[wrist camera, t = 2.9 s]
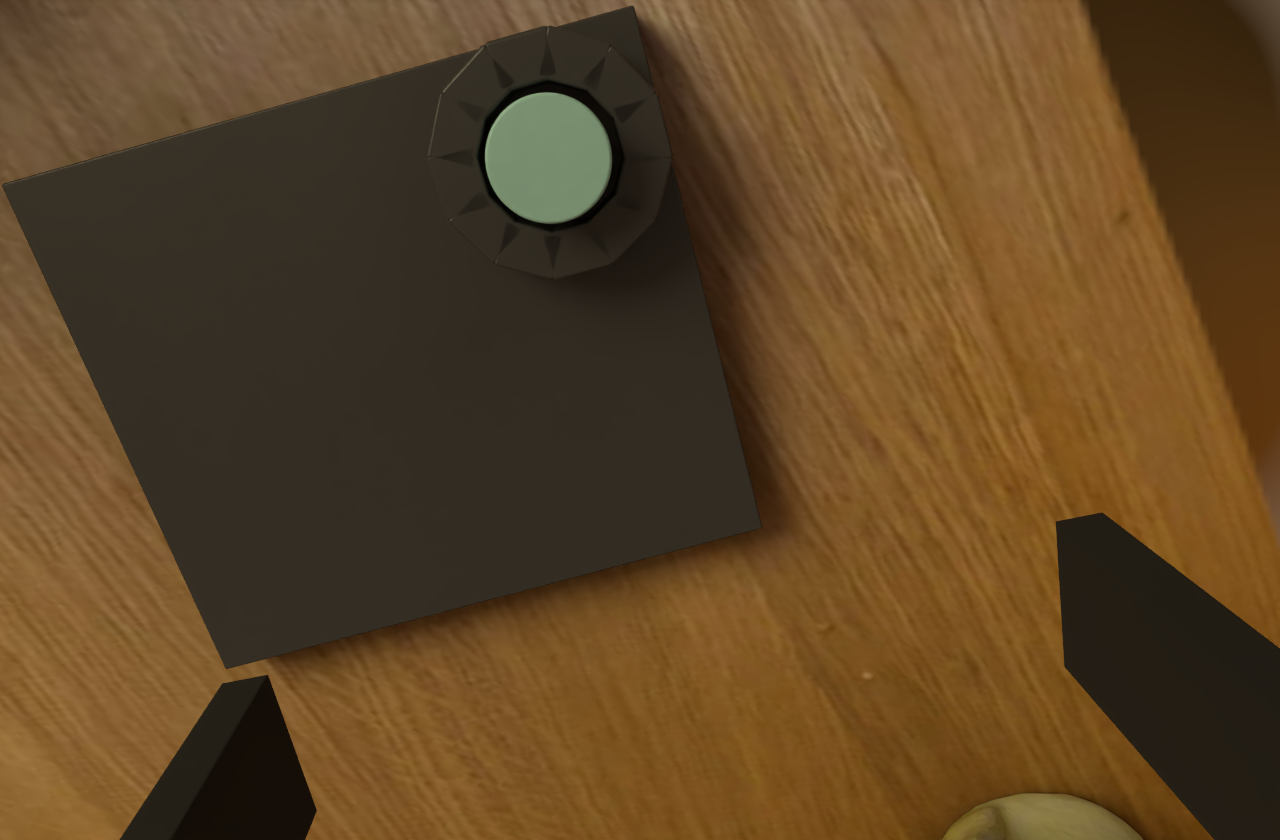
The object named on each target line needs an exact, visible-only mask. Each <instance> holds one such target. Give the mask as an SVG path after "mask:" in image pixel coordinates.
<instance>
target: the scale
mask: <svg viewBox="0 0 1280 840" xmlns="http://www.w3.org/2000/svg"><path fill="white" fill-rule="evenodd" d="M544 92H550V93H558V94H563V95H566V96H569V97H572V98H574V99H576V100H578V101H580V102H581V103H582V104H584V105H585V106H587V107H588V108H589V109H590V110H591V111H592V112H593V113H594V114H595V115H596V116H597V118H598V119H599V120H600V122H601V123H602V125H603V126H604V128H605V131H606V133H607V135H608V138H609V141H610V145H611V150H612V169H611V175H610V178H609V182H608V185H607V187H606V189H605V191H604V193H603V194H602V196H601V197H600V199H599V200H598V201H597V202H596V204H595V205H594V206H593V207H592V208H591V209H589V210H588V211H587V212H585V213H584V214H583V215H581V216H579V217H577V218H575V219H573V220H570V221H567V222H562V223H555V224H545V223H538V222H534V221H531V220H528V219H525V218H523V217H521V216H519V215H518V214H516V213H515V212H513V211H512V210H510V209H509V208H508V207H507V206H506V205H505V204H504V203H503V202H502V201H501V200H500V199H499V197H498V196H497V194H496V193H495V191H494V189H493V187H492V185H491V183H490V181H489V178H488V175H487V170H486V164H485V148H486V142H487V138H488V135H489V132H490V130H491V127H492V125H493V124H494V122H495V120H496V119H497V117H498V116H499V115H500V114H501V112H502V111H503V110H505V109H506V108H507V107H508V106H509V105H510V104H512V103H513V102H515V101H516V100H518V99H520V98H522V97H525V96H528V95H531V94H535V93H544ZM672 157H673V153H672V149H671V145H670V141H669V137H668V133H667V129H666V125H665V121H664V117H663V113H662V108H661V104H660V100H659V96H658V95H657V94H656V91H655V90H654V86H653V82H652V78H651V74H650V70H649V66H648V61H647V57H646V53H645V49H644V45H643V41H642V37H641V33H640V29H639V25H638V21H637V17H636V13H635V9H634V6H629V7H625V8H622V9H618V10H615V11H611V12H607V13H604V14H600V15H597V16H593V17H590V18H586V19H583V20H579V21H576V22H572V23H569V24H565V25H562V26H558V27H553V26H548V27H547V26H542V27H539V28H535V29H531V30H528V31H524V32H521V33H517V34H514V35H510V36H507V37H503V38H500V39H496V40H493V41H489V42H487V43H486V44H485V45H483V46H481V47H480V48H479V49H477V50H474V51H470V52H466V53H463V54H459V55H456V56H452V57H449V58H445V59H442V60H438V61H435V62H431V63H428V64H424V65H421V66H417V67H414V68H410V69H407V70H403V71H399V72H396V73H392V74H389V75H385V76H382V77H378V78H375V79H371V80H368V81H364V82H361V83H357V84H354V85H350V86H347V87H343V88H340V89H336V90H332V91H329V92H325V93H322V94H318V95H315V96H311V97H308V98H304V99H301V100H297V101H294V102H290V103H287V104H283V105H280V106H276V107H273V108H269V109H265V110H262V111H258V112H255V113H251V114H248V115H244V116H241V117H237V118H234V119H230V120H227V121H223V122H220V123H216V124H213V125H209V126H206V127H202V128H199V129H195V130H191V131H188V132H184V133H181V134H177V135H174V136H170V137H167V138H163V139H160V140H156V141H153V142H149V143H146V144H142V145H139V146H135V147H132V148H128V149H124V150H121V151H117V152H114V153H110V154H107V155H103V156H100V157H96V158H93V159H89V160H86V161H82V162H79V163H75V164H72V165H68V166H65V167H61V168H57V169H54V170H50V171H47V172H43V173H40V174H36V175H33V176H29V177H26V178H22V179H19V180H15V181H12V182H8V183H5V184H3V185H2V187H3V189H4V191H5V193H6V196H7V198H8V200H9V202H10V204H11V206H12V209H13V211H14V213H15V215H16V217H17V219H18V221H19V224H20V226H21V228H22V230H23V232H24V234H25V237H26V239H27V241H28V243H29V245H30V247H31V250H32V252H33V254H34V256H35V258H36V260H37V262H38V265H39V267H40V269H41V271H42V273H43V275H44V278H45V280H46V282H47V284H48V286H49V288H50V291H51V293H52V295H53V297H54V299H55V301H56V303H57V306H58V308H59V310H60V312H61V314H62V316H63V319H64V321H65V323H66V325H67V327H68V329H69V332H70V334H71V336H72V338H73V340H74V342H75V344H76V347H77V349H78V351H79V353H80V355H81V357H82V360H83V362H84V364H85V366H86V368H87V370H88V373H89V375H90V377H91V379H92V381H93V383H94V385H95V388H96V390H97V392H98V394H99V396H100V398H101V401H102V403H103V405H104V407H105V409H106V411H107V414H108V416H109V418H110V420H111V422H112V424H113V426H114V429H115V431H116V433H117V435H118V437H119V439H120V442H121V444H122V446H123V448H124V450H125V452H126V455H127V457H128V459H129V461H130V463H131V465H132V467H133V470H134V472H135V474H136V476H137V478H138V480H139V483H140V485H141V487H142V489H143V491H144V493H145V496H146V498H147V500H148V502H149V504H150V506H151V508H152V511H153V513H154V515H155V517H156V519H157V521H158V524H159V526H160V528H161V530H162V532H163V534H164V537H165V539H166V541H167V543H168V545H169V547H170V549H171V552H172V554H173V556H174V558H175V560H176V562H177V565H178V567H179V569H180V571H181V573H182V575H183V578H184V580H185V582H186V584H187V586H188V588H189V590H190V593H191V595H192V597H193V599H194V601H195V603H196V606H197V608H198V610H199V612H200V614H201V616H202V619H203V621H204V623H205V625H206V627H207V629H208V631H209V634H210V636H211V638H212V640H213V642H214V644H215V647H216V649H217V651H218V653H219V655H220V657H221V660H222V662H223V664H224V666H225V668H226V669H229V668H233V667H236V666H240V665H244V664H248V663H252V662H255V661H259V660H263V659H267V658H271V657H274V656H278V655H282V654H286V653H289V652H293V651H297V650H301V649H305V648H308V647H312V646H316V645H320V644H324V643H327V642H331V641H335V640H339V639H343V638H346V637H350V636H354V635H358V634H362V633H365V632H369V631H373V630H377V629H381V628H384V627H388V626H392V625H396V624H400V623H403V622H407V621H411V620H415V619H419V618H422V617H426V616H430V615H434V614H438V613H441V612H445V611H449V610H453V609H457V608H460V607H464V606H468V605H472V604H476V603H479V602H483V601H487V600H491V599H495V598H498V597H502V596H506V595H510V594H514V593H517V592H521V591H525V590H529V589H533V588H536V587H540V586H544V585H548V584H552V583H555V582H559V581H563V580H567V579H571V578H574V577H578V576H582V575H586V574H590V573H593V572H597V571H601V570H605V569H609V568H612V567H616V566H620V565H624V564H628V563H631V562H635V561H639V560H643V559H647V558H650V557H654V556H658V555H662V554H666V553H669V552H673V551H677V550H681V549H685V548H688V547H692V546H696V545H700V544H704V543H707V542H711V541H715V540H719V539H723V538H726V537H730V536H734V535H738V534H742V533H745V532H749V531H753V530H757V529H761V528H762V524H761V520H760V516H759V512H758V508H757V504H756V500H755V496H754V491H753V487H752V483H751V479H750V475H749V471H748V467H747V463H746V459H745V455H744V451H743V447H742V443H741V439H740V435H739V431H738V427H737V422H736V418H735V414H734V410H733V406H732V402H731V398H730V394H729V390H728V386H727V382H726V378H725V374H724V370H723V366H722V362H721V358H720V354H719V349H718V345H717V341H716V337H715V333H714V329H713V325H712V321H711V317H710V313H709V309H708V305H707V301H706V297H705V293H704V289H703V285H702V281H701V276H700V272H699V268H698V264H697V260H696V256H695V252H694V248H693V244H692V240H691V236H690V232H689V228H688V224H687V220H686V216H685V212H684V207H683V203H682V199H681V195H680V191H679V187H678V183H677V179H676V175H675V171H674V167H673V163H672Z"/></svg>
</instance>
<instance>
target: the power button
mask: <svg viewBox="0 0 1280 840" xmlns="http://www.w3.org/2000/svg"><path fill="white" fill-rule="evenodd" d="M485 164H486V170H487V175H488V178H489V181H490V183H491V185H492V187H493V189H494V191H495V193H496V194H497V196H498V197H499V199H500V200H501V201H502V202H503V203H504V204H505V205H506V206H507V207H508V208H509V209H510V210H512V211H513V212H515V213H516V214H518V215H519V216H521V217H523V218H525V219H528V220H531V221H534V222H538V223H545V224H555V223H562V222H567V221H570V220H573V219H575V218H577V217H579V216H581V215H583V214H584V213H585V212H587V211H588V210H589V209H591V208H592V207H593V206H594V205H595V204H596V202H597V201H598V200H599V199H600V197H601V196H602V194H603V193H604V191H605V189H606V187H607V185H608V182H609V178H610V175H611V169H612V150H611V145H610V141H609V138H608V135H607V133H606V131H605V128H604V126H603V125H602V123H601V122H600V120H599V119H598V118H597V116H596V115H595V114H594V113H593V112H592V111H591V110H590V109H589V108H588V107H587V106H585V105H584V104H582V103H581V102H580V101H578V100H576V99H574V98H572V97H569V96H566V95H563V94H558V93H550V92H544V93H535V94H531V95H528V96H525V97H522V98H520V99H518V100H516V101H515V102H513V103H512V104H510V105H509V106H508V107H507V108H506V109H505V110H503V111H502V112H501V114H500V115H499V116H498V117H497V119H496V120H495V122H494V124H493V125H492V127H491V130H490V132H489V135H488V138H487V142H486V148H485Z"/></svg>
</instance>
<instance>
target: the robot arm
mask: <svg viewBox="0 0 1280 840" xmlns="http://www.w3.org/2000/svg"><path fill="white" fill-rule="evenodd" d="M1056 532H1057V549H1058V566H1059V582H1060V599H1061V615H1062V632H1063V649H1064V665H1065V668H1066V669H1067V670H1068V671H1069V672H1070V673H1071V675H1072V676H1073V677H1074V678H1075V679H1076V680H1077V682H1078V683H1079V684H1080V685H1081V686H1082V687H1083V688H1084V690H1085V691H1086V692H1087V693H1088V694H1089V695H1090V697H1091V698H1092V699H1093V700H1094V701H1095V702H1096V703H1097V705H1098V706H1099V707H1100V708H1101V709H1102V710H1103V712H1104V713H1105V714H1106V715H1107V716H1108V717H1109V718H1110V720H1111V721H1112V722H1113V723H1114V724H1115V725H1116V727H1117V728H1118V729H1119V730H1120V731H1121V732H1122V733H1123V735H1124V736H1125V737H1126V738H1127V739H1128V740H1129V742H1130V743H1131V744H1132V745H1133V746H1134V747H1135V748H1136V750H1137V751H1138V752H1139V753H1140V754H1141V755H1142V757H1143V758H1144V759H1145V760H1146V761H1147V762H1148V763H1149V765H1150V766H1151V767H1152V768H1153V769H1154V770H1155V772H1156V773H1157V774H1158V775H1159V776H1160V777H1161V778H1162V780H1163V781H1164V782H1165V783H1166V784H1167V785H1168V787H1169V788H1170V789H1171V790H1172V791H1173V792H1174V793H1175V795H1176V796H1177V797H1178V798H1179V799H1180V800H1181V802H1182V803H1183V804H1184V805H1185V806H1186V807H1187V808H1188V810H1189V811H1190V812H1191V813H1192V814H1193V815H1194V817H1195V818H1196V819H1197V820H1198V821H1199V822H1200V823H1201V825H1202V826H1203V827H1204V828H1205V829H1206V830H1207V832H1208V833H1209V834H1210V835H1211V836H1212V837H1213V839H1214V840H1280V648H1278V647H1277V646H1276V645H1274V644H1273V643H1272V642H1270V641H1269V640H1268V639H1267V638H1265V637H1264V636H1263V635H1261V634H1260V633H1259V632H1257V631H1256V630H1255V629H1254V628H1252V627H1251V626H1250V625H1248V624H1247V623H1246V622H1244V621H1243V620H1242V619H1240V618H1239V617H1238V616H1237V615H1235V614H1234V613H1233V612H1231V611H1230V610H1229V609H1227V608H1226V607H1225V606H1224V605H1222V604H1221V603H1220V602H1218V601H1217V600H1216V599H1214V598H1213V597H1212V596H1210V595H1209V594H1208V593H1207V592H1205V591H1204V590H1203V589H1201V588H1200V587H1199V586H1197V585H1196V584H1195V583H1194V582H1192V581H1191V580H1190V579H1188V578H1187V577H1186V576H1184V575H1183V574H1182V573H1180V572H1179V571H1178V570H1177V569H1175V568H1174V567H1173V566H1171V565H1170V564H1169V563H1167V562H1166V561H1165V560H1164V559H1162V558H1161V557H1160V556H1158V555H1157V554H1156V553H1154V552H1153V551H1152V550H1150V549H1149V548H1148V547H1147V546H1145V545H1144V544H1143V543H1141V542H1140V541H1139V540H1137V539H1136V538H1135V537H1134V536H1132V535H1131V534H1130V533H1128V532H1127V531H1126V530H1124V529H1123V528H1122V527H1120V526H1119V525H1118V524H1117V523H1115V522H1114V521H1113V520H1111V519H1110V518H1109V517H1107V516H1106V515H1105V514H1104V513H1098V514H1092V515H1087V516H1082V517H1077V518H1072V519H1067V520H1062V521H1056ZM316 811H317V810H316V807H315V804H314V802H313V799H312V796H311V793H310V791H309V788H308V785H307V782H306V779H305V777H304V774H303V771H302V768H301V766H300V763H299V760H298V757H297V754H296V752H295V749H294V746H293V743H292V741H291V738H290V735H289V732H288V729H287V727H286V724H285V721H284V718H283V715H282V713H281V710H280V707H279V704H278V702H277V699H276V696H275V693H274V690H273V688H272V685H271V682H270V679H269V677H268V675H264V676H259V677H254V678H249V679H244V680H239V681H234V682H228V683H223V684H222V685H221V687H220V688H219V690H218V691H217V693H216V694H215V696H214V697H213V699H212V700H211V702H210V703H209V705H208V706H207V708H206V709H205V711H204V712H203V714H202V715H201V717H200V718H199V720H198V721H197V723H196V724H195V726H194V727H193V729H192V731H191V732H190V734H189V735H188V737H187V738H186V740H185V741H184V743H183V744H182V746H181V747H180V749H179V750H178V752H177V753H176V755H175V756H174V758H173V759H172V761H171V762H170V764H169V765H168V767H167V768H166V770H165V771H164V773H163V775H162V776H161V778H160V779H159V781H158V782H157V784H156V785H155V787H154V788H153V790H152V791H151V793H150V794H149V796H148V797H147V799H146V800H145V802H144V803H143V805H142V806H141V808H140V809H139V811H138V812H137V814H136V815H135V817H134V818H133V820H132V822H131V823H130V825H129V826H128V828H127V829H126V831H125V832H124V834H123V835H122V837H121V838H120V840H305V839H306V836H307V834H308V831H309V829H310V826H311V824H312V821H313V819H314V816H315V814H316Z"/></svg>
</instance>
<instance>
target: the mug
mask: <svg viewBox="0 0 1280 840" xmlns="http://www.w3.org/2000/svg"><path fill="white" fill-rule="evenodd" d="M942 840H1143V839H1142V837H1141V836H1140V835H1139V834H1138V833H1137V832H1136V831H1135V830H1133V829H1132V828H1131V827H1130V826H1129V825H1128V824H1127V823H1126V822H1124V821H1123V820H1121V819H1120V818H1119V817H1117V816H1116V815H1114V814H1113V813H1111V812H1109V811H1108V810H1106V809H1105V808H1103V807H1101V806H1099V805H1097V804H1095V803H1092V802H1090V801H1087V800H1084V799H1081V798H1078V797H1075V796H1072V795H1067V794H1060V793H1057V794H1042V793H1025V794H1017V795H1013V796H1008V797H1003V798H999V799H995V800H992V801H989V802H986V803H983V804H980V805H977V806H976V807H975V808H973V809H972V810H970V811H969V812H967V813H966V814H964V815H963V816H962V817H960V818H959V819H958V820H957V821H955V822H954V823H953V824H952V825H951V827H950V828H949V829H948V831H947V832H946V834H945V835H944V837H943V839H942Z"/></svg>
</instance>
